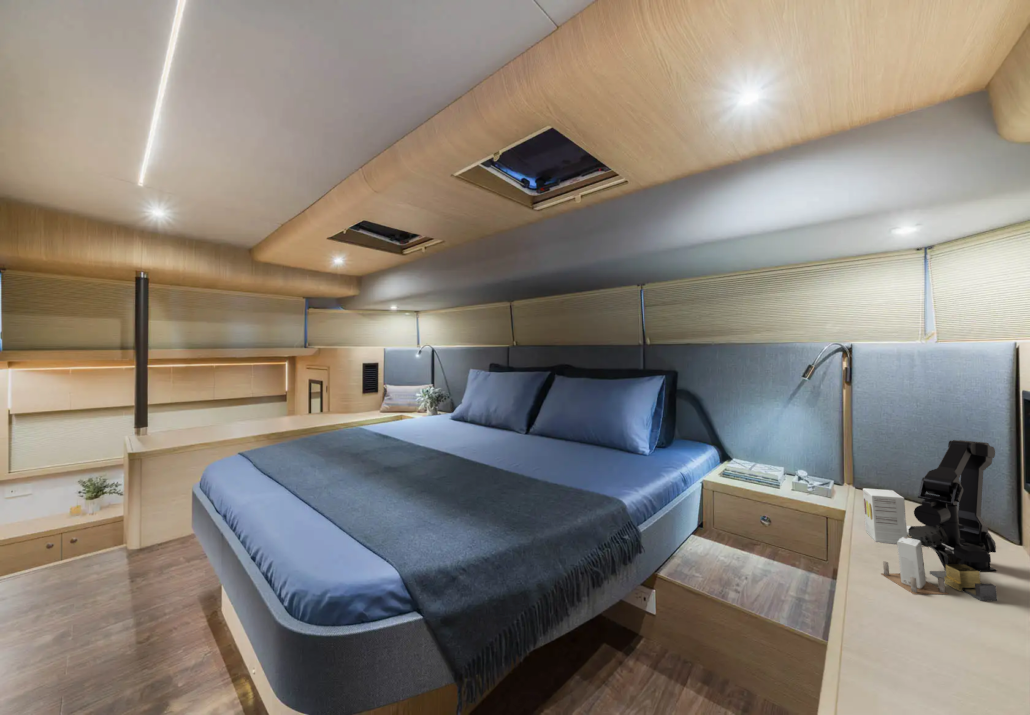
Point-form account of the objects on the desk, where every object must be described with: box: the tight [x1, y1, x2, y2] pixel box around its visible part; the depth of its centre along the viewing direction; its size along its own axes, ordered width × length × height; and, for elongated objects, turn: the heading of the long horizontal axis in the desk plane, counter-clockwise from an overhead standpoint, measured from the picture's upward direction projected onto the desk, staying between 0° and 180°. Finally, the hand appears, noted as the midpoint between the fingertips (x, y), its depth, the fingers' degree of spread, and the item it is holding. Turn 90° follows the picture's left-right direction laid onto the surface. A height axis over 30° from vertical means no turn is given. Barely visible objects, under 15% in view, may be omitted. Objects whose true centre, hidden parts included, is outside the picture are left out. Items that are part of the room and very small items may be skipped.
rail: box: [929, 570, 998, 602], centre depth 113 cm, size 4×14×4 cm, turn 175°
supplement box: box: [862, 488, 908, 545], centre depth 145 cm, size 10×9×17 cm
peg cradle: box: [880, 561, 950, 595], centre depth 116 cm, size 9×11×4 cm
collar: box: [944, 564, 983, 592], centre depth 113 cm, size 6×4×5 cm, turn 85°
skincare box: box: [896, 536, 927, 589], centre depth 116 cm, size 6×4×12 cm
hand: (948, 572), depth 116 cm, fingers closed
